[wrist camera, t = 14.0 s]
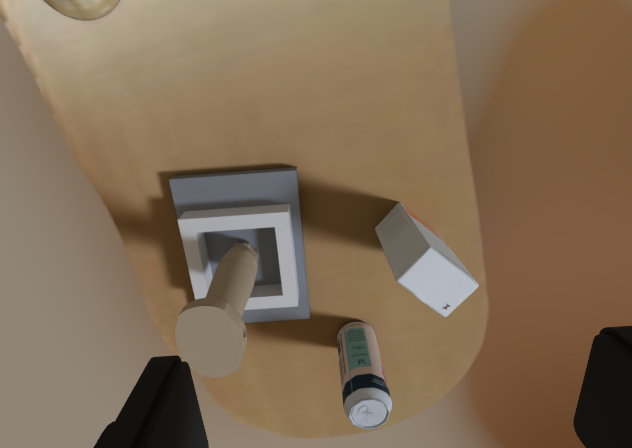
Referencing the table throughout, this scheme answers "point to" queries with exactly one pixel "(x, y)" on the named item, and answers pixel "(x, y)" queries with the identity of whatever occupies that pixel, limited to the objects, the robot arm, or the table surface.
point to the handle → (219, 316)
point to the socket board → (246, 235)
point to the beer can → (362, 376)
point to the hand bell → (83, 8)
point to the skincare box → (423, 261)
